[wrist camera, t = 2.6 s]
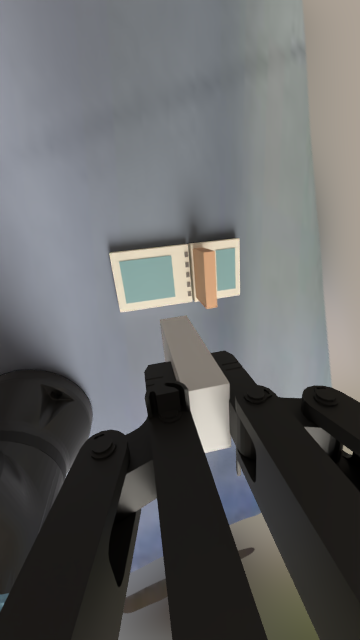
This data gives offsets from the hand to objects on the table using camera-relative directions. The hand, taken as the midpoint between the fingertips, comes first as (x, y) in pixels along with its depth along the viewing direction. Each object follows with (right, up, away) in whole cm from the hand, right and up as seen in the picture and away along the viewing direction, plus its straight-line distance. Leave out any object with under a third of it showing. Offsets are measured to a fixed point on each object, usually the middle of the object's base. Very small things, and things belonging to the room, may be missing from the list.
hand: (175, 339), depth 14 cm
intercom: (+4, +8, +18) cm, 20 cm away
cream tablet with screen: (-3, +6, +17) cm, 19 cm away
